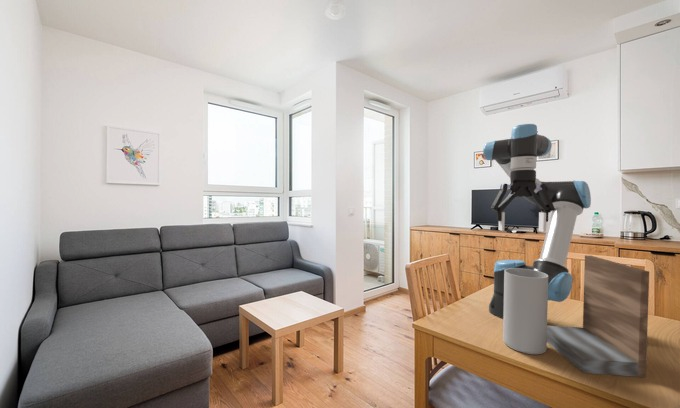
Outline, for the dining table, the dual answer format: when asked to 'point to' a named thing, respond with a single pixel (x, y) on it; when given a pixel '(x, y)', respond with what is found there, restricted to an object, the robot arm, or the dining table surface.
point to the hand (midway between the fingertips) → (521, 231)
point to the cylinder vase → (525, 310)
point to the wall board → (608, 321)
